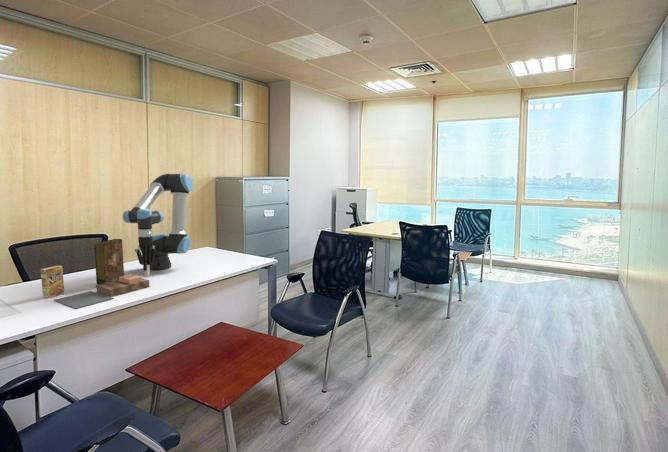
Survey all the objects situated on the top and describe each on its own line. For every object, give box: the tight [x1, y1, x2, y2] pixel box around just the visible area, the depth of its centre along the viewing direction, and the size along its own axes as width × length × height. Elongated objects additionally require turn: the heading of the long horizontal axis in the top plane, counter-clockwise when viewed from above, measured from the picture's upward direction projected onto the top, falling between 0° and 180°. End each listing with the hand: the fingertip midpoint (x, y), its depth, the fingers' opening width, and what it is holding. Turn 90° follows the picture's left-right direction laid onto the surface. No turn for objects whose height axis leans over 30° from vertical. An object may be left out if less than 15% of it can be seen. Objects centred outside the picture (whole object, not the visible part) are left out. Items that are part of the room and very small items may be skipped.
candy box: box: [40, 265, 66, 299], centre depth 205 cm, size 9×4×15 cm, turn 159°
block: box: [119, 273, 142, 284], centre depth 221 cm, size 7×10×2 cm
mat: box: [53, 290, 114, 310], centre depth 200 cm, size 18×22×1 cm
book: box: [93, 238, 125, 285], centre depth 229 cm, size 16×6×25 cm, turn 168°
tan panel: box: [95, 277, 151, 298], centre depth 218 cm, size 22×14×4 cm, turn 149°
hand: (147, 275), depth 230 cm, fingers closed
